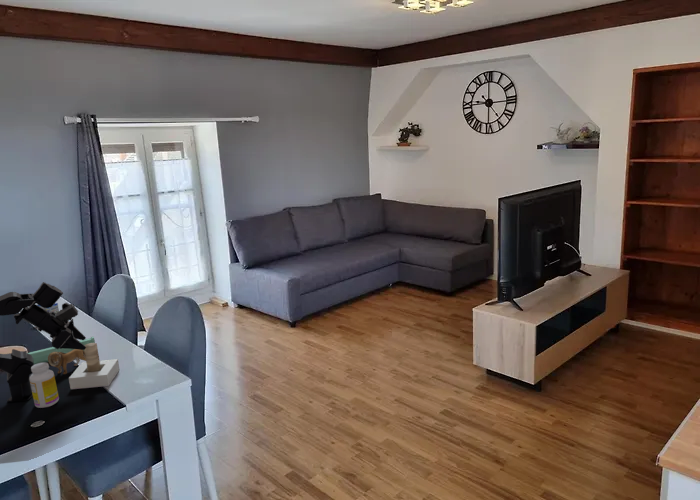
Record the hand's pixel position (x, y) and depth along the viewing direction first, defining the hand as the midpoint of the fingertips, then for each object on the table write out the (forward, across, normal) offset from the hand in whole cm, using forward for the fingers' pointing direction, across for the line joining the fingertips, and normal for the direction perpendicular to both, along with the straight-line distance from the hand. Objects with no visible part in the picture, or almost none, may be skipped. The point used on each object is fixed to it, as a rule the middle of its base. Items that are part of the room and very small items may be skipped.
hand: (85, 343), depth 171 cm
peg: (+11, 0, +8) cm, 14 cm away
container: (+3, +27, +17) cm, 32 cm away
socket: (+11, 0, +8) cm, 13 cm away
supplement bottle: (+1, -10, +19) cm, 21 cm away
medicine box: (-1, +74, +20) cm, 77 cm away
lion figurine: (+5, +13, +14) cm, 20 cm away
